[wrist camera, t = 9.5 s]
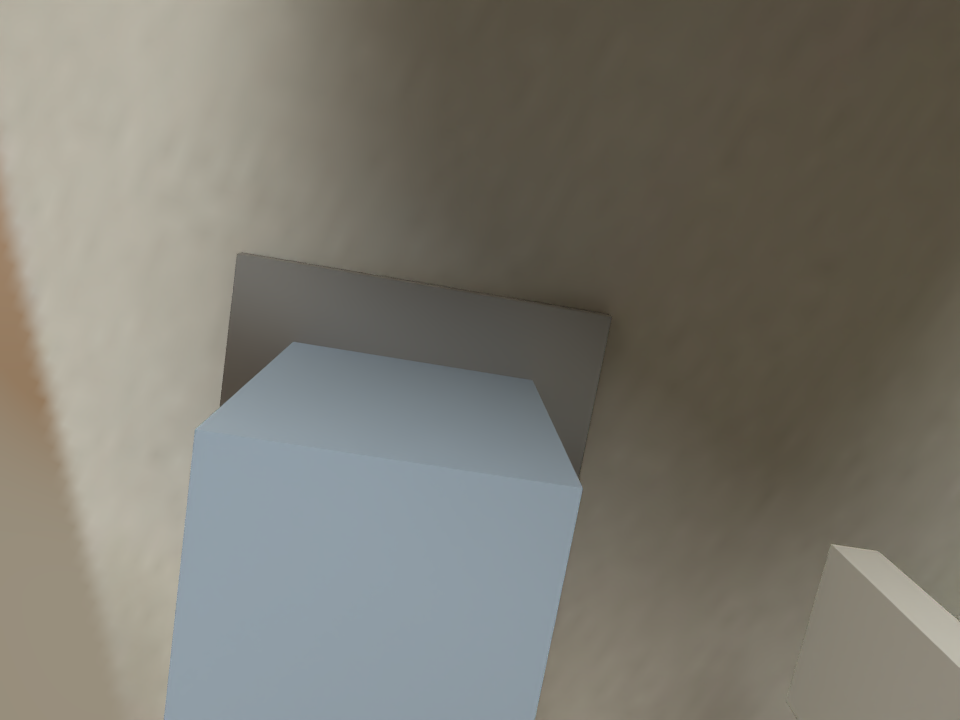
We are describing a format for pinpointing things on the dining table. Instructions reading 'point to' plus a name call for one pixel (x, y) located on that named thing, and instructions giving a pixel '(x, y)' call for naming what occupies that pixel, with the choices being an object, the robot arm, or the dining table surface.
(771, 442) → the dining table surface
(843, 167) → the dining table surface
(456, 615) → the light blue block
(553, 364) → the grey square base
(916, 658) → the robot arm
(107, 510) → the dining table surface
